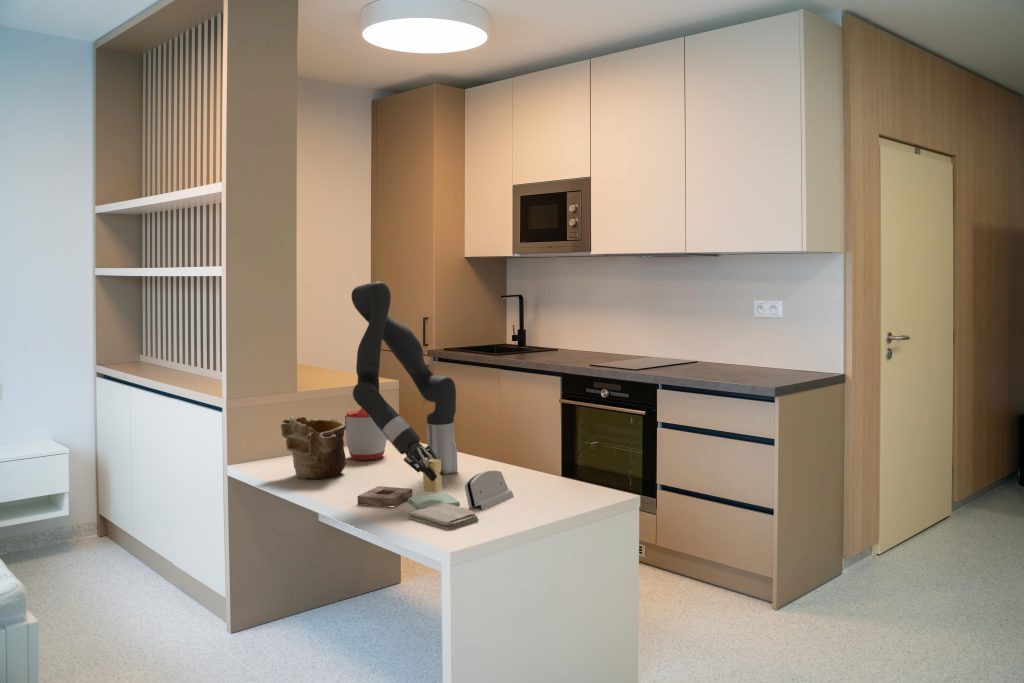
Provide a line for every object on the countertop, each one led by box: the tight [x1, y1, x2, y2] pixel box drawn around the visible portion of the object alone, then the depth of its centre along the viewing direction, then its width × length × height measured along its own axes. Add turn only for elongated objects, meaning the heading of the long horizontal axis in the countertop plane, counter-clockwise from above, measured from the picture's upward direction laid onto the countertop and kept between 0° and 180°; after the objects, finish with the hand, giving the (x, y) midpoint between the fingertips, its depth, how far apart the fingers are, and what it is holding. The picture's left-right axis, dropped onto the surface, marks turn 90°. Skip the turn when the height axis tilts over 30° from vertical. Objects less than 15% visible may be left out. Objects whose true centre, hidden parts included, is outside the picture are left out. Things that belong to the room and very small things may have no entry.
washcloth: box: [407, 503, 479, 531], centre depth 228 cm, size 12×18×3 cm, turn 47°
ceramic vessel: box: [280, 415, 347, 480], centre depth 283 cm, size 23×24×25 cm
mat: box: [407, 492, 461, 509], centre depth 245 cm, size 12×12×1 cm
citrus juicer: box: [343, 407, 387, 461], centre depth 309 cm, size 16×17×20 cm
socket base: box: [357, 485, 414, 507], centre depth 249 cm, size 12×12×2 cm
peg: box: [422, 458, 443, 493], centre depth 244 cm, size 4×4×9 cm
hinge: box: [464, 470, 515, 511], centre depth 245 cm, size 17×5×10 cm, turn 147°
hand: (438, 477), depth 243 cm, fingers closed on peg, 4 cm apart
